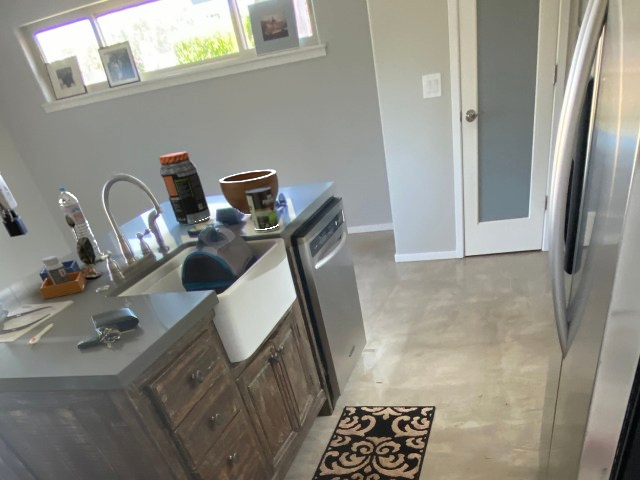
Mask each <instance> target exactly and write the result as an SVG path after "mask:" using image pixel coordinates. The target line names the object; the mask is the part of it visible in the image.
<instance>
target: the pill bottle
mask: <svg viewBox="0 0 640 480" xmlns="http://www.w3.org/2000/svg"><path fill="white" fill-rule="evenodd" d="M41 260H42V263H43V264H44V266H46V267H45V269H46V271H47V273H48V275H49V277H50V279H51V281H52V283H53V285H57V284H62V283H67V282H71V279H70V277H69V275H68V274H67V272H66V270H65V268H64V266H63V264H62V263H61V261H60V260H59V257H58V256H57V255H50V256H47V257H44V258H42V259H41Z"/></svg>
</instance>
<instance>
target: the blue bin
mask: <svg viewBox="0 0 640 480" xmlns="http://www.w3.org/2000/svg"><path fill="white" fill-rule="evenodd" d="M60 263H62V264H63V266H64V268H65V270H66V272H67V274H69V273H74V272H79V271H81V268H80V266H79V264H78V261H77V259H71V260H67V261H62V262H61V261H60ZM45 267H46V265H44V266H43V267H42V269H41V270H40V271H39V273H38V274H39V276H40V278H41V280H42V282H43V281H44V280H45V278H49V275H48V273H47V271H46V269H45Z"/></svg>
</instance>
